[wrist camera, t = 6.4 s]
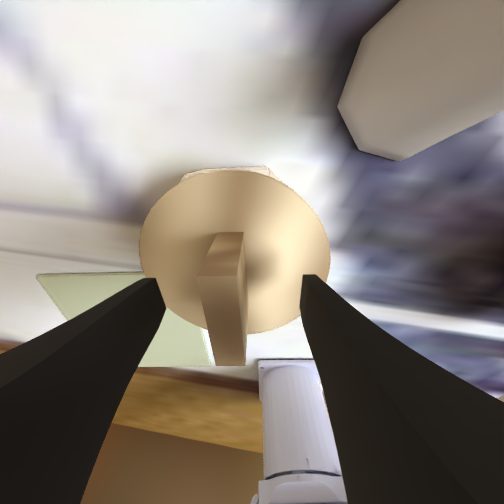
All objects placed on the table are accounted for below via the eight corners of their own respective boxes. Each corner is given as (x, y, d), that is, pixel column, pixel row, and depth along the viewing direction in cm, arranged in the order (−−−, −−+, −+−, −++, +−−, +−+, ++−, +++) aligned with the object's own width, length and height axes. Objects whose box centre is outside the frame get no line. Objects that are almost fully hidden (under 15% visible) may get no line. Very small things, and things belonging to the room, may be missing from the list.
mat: (210, 363, 23) (209, 366, 23) (103, 363, 24) (101, 366, 23) (187, 271, 16) (186, 273, 16) (40, 274, 17) (35, 277, 17)
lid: (340, 164, 9) (421, 174, 5) (313, 323, 14) (338, 398, 10) (120, 173, 9) (-1, 190, 5) (172, 324, 15) (136, 397, 10)
